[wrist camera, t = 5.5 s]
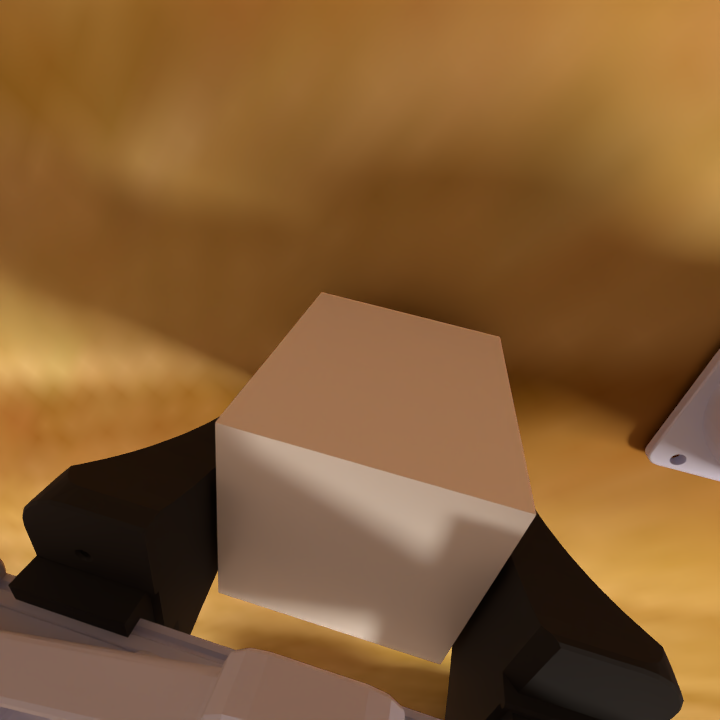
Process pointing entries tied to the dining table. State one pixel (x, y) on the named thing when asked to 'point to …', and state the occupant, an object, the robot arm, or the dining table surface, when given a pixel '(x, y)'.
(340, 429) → the beige block
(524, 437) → the dining table surface
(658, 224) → the dining table surface
